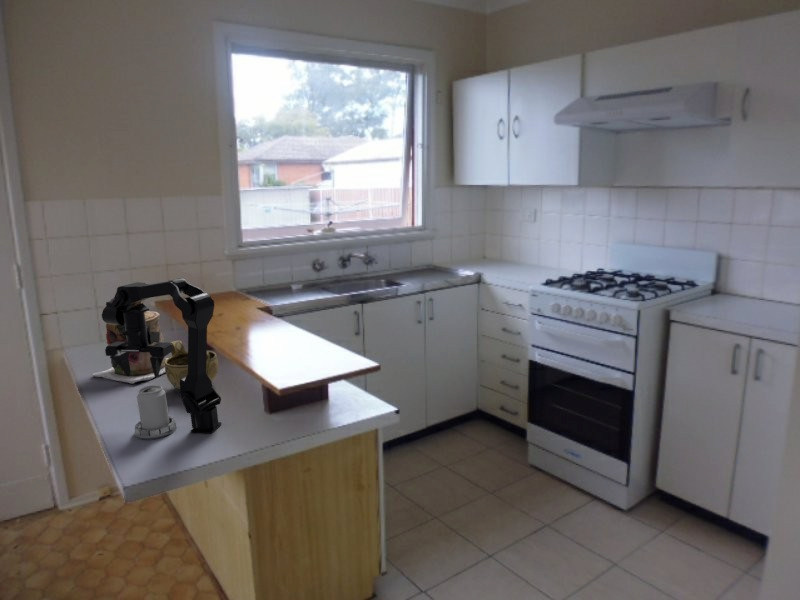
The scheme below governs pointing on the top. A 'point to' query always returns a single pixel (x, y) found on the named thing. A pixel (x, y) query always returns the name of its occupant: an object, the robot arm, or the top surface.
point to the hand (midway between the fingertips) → (142, 376)
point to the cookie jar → (133, 353)
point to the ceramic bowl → (186, 364)
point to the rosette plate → (155, 431)
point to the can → (153, 407)
